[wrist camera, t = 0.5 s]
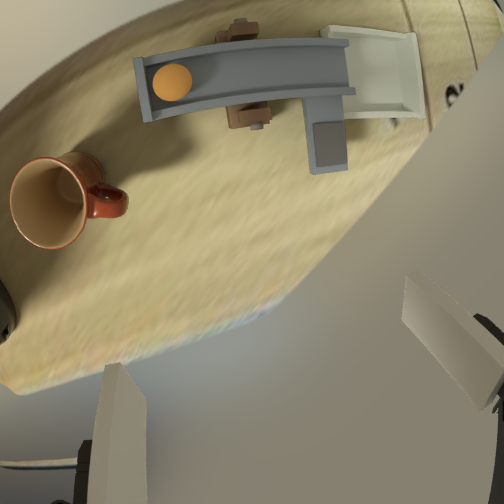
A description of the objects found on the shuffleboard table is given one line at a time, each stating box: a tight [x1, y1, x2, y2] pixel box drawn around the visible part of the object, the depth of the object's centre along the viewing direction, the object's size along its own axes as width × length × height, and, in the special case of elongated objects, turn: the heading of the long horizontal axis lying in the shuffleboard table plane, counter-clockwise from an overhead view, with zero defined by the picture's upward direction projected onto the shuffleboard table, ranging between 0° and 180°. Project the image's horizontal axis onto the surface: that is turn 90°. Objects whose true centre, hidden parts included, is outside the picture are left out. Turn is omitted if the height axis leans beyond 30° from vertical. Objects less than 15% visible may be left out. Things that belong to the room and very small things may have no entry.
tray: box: [319, 25, 425, 119], centre depth 30 cm, size 12×12×4 cm
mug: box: [9, 152, 129, 249], centre depth 28 cm, size 12×9×10 cm
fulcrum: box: [215, 18, 272, 130], centre depth 27 cm, size 12×11×8 cm
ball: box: [153, 64, 192, 101], centre depth 22 cm, size 3×3×3 cm
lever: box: [133, 38, 356, 175], centre depth 26 cm, size 20×14×3 cm
